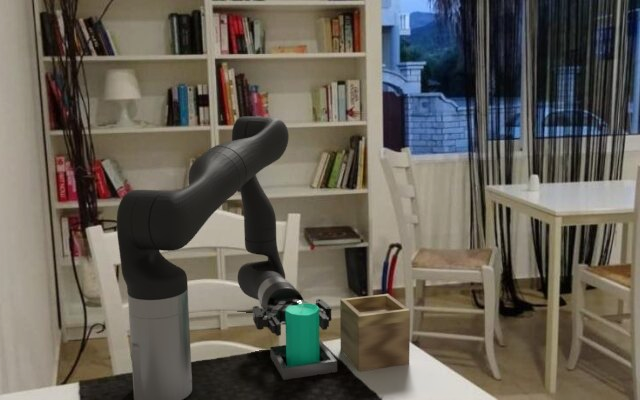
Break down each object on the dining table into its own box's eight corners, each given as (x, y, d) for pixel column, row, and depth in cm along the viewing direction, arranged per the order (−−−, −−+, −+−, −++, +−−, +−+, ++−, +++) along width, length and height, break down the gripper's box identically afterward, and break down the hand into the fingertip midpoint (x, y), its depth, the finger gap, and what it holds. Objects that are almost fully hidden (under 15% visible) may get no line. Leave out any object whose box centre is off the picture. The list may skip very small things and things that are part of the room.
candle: (321, 358, 115) (320, 295, 113) (317, 372, 109) (317, 306, 107) (288, 357, 116) (287, 294, 114) (283, 371, 110) (282, 305, 108)
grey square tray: (283, 379, 106) (283, 368, 106) (270, 357, 115) (270, 347, 115) (337, 371, 109) (337, 360, 109) (320, 350, 118) (320, 340, 118)
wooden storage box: (359, 371, 109) (359, 316, 108) (340, 350, 118) (340, 299, 117) (409, 363, 112) (410, 310, 111) (387, 343, 121) (387, 293, 120)
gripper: (244, 284, 123) (262, 311, 108) (313, 277, 128) (340, 302, 112) (245, 321, 125) (263, 352, 109) (313, 313, 129) (340, 342, 114)
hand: (302, 327), depth 111 cm, fingers open, 8 cm apart
